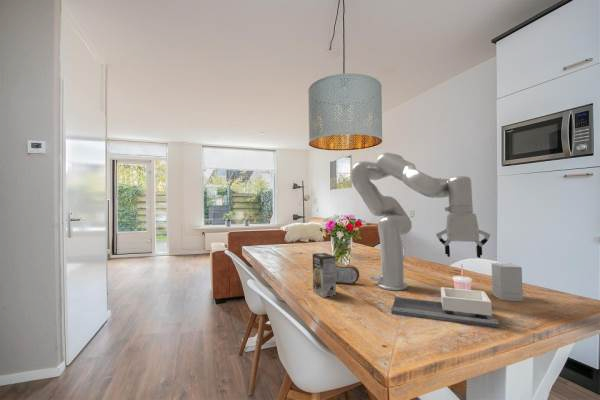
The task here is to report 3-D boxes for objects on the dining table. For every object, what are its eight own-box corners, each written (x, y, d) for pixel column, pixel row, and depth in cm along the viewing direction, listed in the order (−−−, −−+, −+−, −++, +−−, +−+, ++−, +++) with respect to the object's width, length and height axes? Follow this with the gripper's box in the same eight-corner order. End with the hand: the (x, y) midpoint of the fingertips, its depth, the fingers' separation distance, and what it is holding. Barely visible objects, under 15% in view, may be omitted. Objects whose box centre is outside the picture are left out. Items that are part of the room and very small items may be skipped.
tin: (359, 283, 131) (359, 265, 132) (358, 285, 128) (358, 266, 129) (328, 281, 136) (327, 263, 136) (326, 282, 133) (326, 264, 133)
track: (391, 313, 95) (391, 307, 95) (395, 301, 106) (394, 296, 106) (498, 327, 83) (498, 321, 83) (489, 313, 93) (489, 307, 94)
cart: (442, 316, 89) (442, 297, 89) (441, 304, 99) (440, 287, 99) (492, 322, 84) (491, 302, 84) (484, 309, 94) (484, 291, 94)
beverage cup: (467, 300, 106) (466, 262, 107) (476, 305, 100) (474, 266, 101) (450, 299, 107) (449, 262, 107) (457, 305, 101) (456, 266, 101)
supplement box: (523, 301, 104) (522, 267, 104) (501, 300, 105) (500, 266, 105) (512, 295, 111) (511, 263, 111) (491, 294, 112) (490, 262, 113)
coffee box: (312, 291, 120) (311, 253, 120) (325, 289, 123) (325, 252, 123) (322, 298, 112) (321, 257, 112) (336, 295, 114) (335, 255, 115)
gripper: (435, 211, 104) (437, 257, 104) (490, 209, 97) (493, 259, 97) (434, 210, 111) (436, 254, 110) (486, 209, 104) (489, 255, 103)
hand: (463, 256), depth 103 cm, fingers open, 9 cm apart
